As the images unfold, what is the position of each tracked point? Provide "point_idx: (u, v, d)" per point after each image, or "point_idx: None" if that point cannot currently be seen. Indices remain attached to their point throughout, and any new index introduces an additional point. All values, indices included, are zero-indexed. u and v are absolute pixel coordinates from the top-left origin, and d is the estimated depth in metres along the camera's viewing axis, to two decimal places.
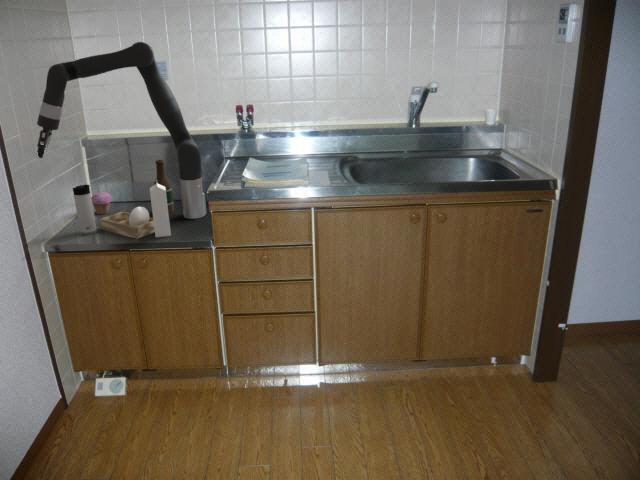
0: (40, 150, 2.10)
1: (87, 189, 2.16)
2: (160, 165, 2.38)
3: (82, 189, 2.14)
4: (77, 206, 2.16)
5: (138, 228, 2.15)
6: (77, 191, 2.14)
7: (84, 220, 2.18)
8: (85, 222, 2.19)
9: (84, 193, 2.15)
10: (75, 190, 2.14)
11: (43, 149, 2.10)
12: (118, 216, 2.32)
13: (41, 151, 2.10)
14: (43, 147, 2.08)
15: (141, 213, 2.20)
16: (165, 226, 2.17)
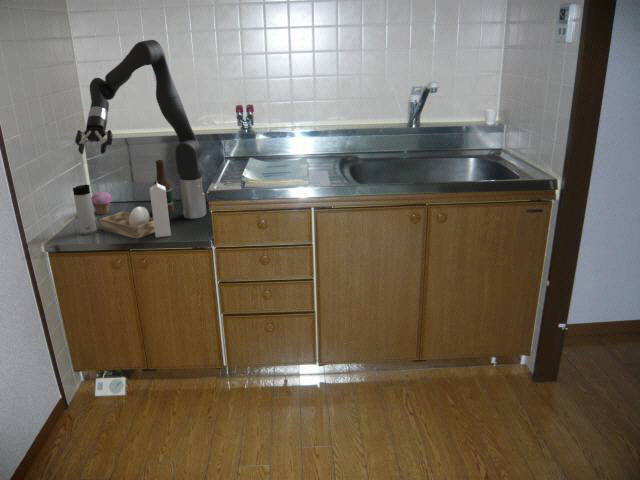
0: None
1: (87, 189, 2.16)
2: (160, 165, 2.38)
3: (82, 189, 2.14)
4: (77, 206, 2.16)
5: (138, 228, 2.15)
6: (77, 191, 2.14)
7: (84, 220, 2.18)
8: (85, 222, 2.19)
9: (84, 193, 2.15)
10: (75, 190, 2.14)
11: (80, 144, 2.24)
12: (118, 216, 2.32)
13: (79, 146, 2.24)
14: (75, 141, 2.24)
15: (141, 213, 2.20)
16: (165, 226, 2.17)
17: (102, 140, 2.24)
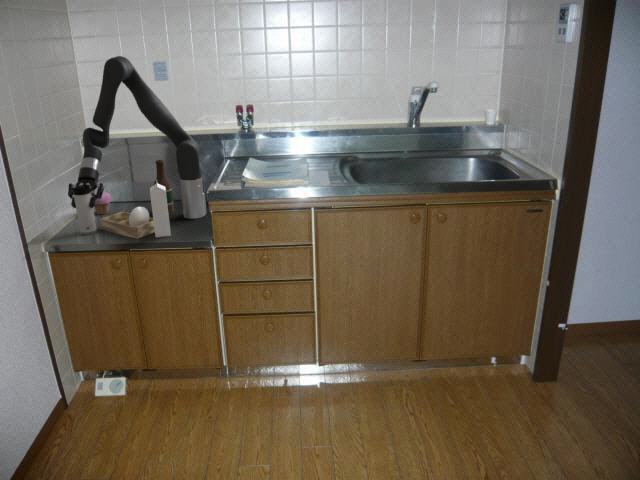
0: None
1: (87, 189, 2.16)
2: (160, 165, 2.38)
3: (82, 189, 2.14)
4: (77, 206, 2.16)
5: (138, 228, 2.15)
6: (77, 191, 2.14)
7: (84, 220, 2.18)
8: (85, 222, 2.19)
9: (84, 193, 2.15)
10: (75, 190, 2.14)
11: (73, 198, 2.18)
12: (118, 216, 2.32)
13: (72, 200, 2.18)
14: (68, 195, 2.19)
15: (141, 213, 2.20)
16: (165, 226, 2.17)
17: (91, 194, 2.19)
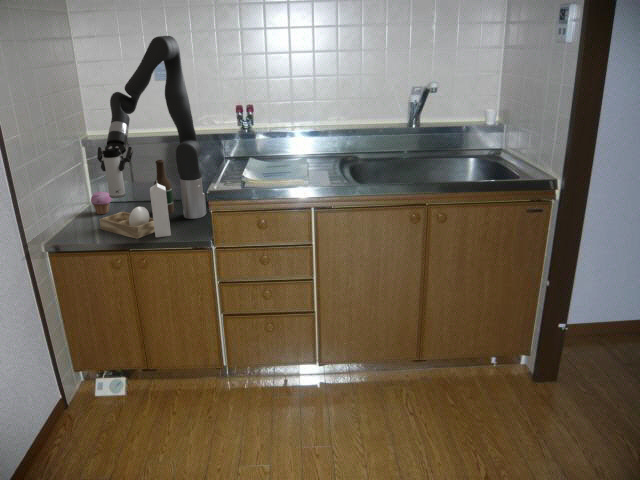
0: (103, 164, 2.19)
1: (117, 152, 2.16)
2: (160, 165, 2.38)
3: (112, 152, 2.15)
4: (107, 169, 2.17)
5: (138, 228, 2.15)
6: (107, 154, 2.14)
7: (113, 183, 2.19)
8: (115, 185, 2.19)
9: (114, 156, 2.16)
10: (105, 153, 2.15)
11: (103, 161, 2.19)
12: (118, 216, 2.32)
13: None
14: (97, 158, 2.19)
15: (141, 213, 2.20)
16: (165, 226, 2.17)
17: (121, 157, 2.19)
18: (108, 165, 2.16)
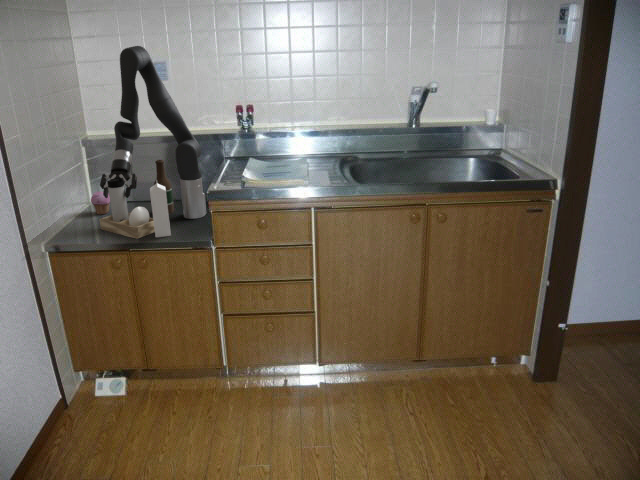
0: None
1: (121, 182, 2.21)
2: (160, 165, 2.38)
3: (117, 182, 2.19)
4: (111, 199, 2.21)
5: (138, 228, 2.15)
6: (112, 184, 2.19)
7: (118, 212, 2.23)
8: (119, 215, 2.24)
9: (118, 186, 2.20)
10: (110, 183, 2.19)
11: None
12: None
13: None
14: (100, 185, 2.24)
15: (141, 213, 2.20)
16: (165, 226, 2.17)
17: (127, 184, 2.23)
18: (113, 195, 2.21)
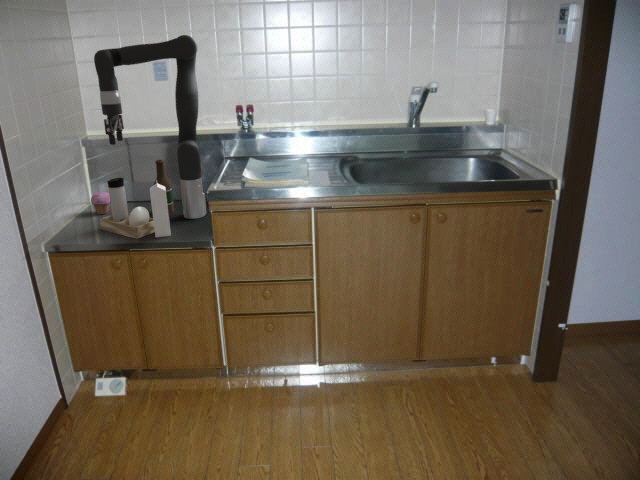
0: (111, 137, 2.19)
1: (121, 182, 2.21)
2: (160, 165, 2.38)
3: (117, 182, 2.19)
4: (111, 198, 2.22)
5: (138, 228, 2.15)
6: (112, 184, 2.19)
7: (118, 212, 2.23)
8: (119, 215, 2.24)
9: (118, 186, 2.20)
10: (110, 183, 2.19)
11: (113, 135, 2.19)
12: None
13: (111, 138, 2.18)
14: (110, 133, 2.16)
15: (141, 213, 2.20)
16: (165, 226, 2.17)
17: (121, 128, 2.26)
18: (113, 195, 2.21)
